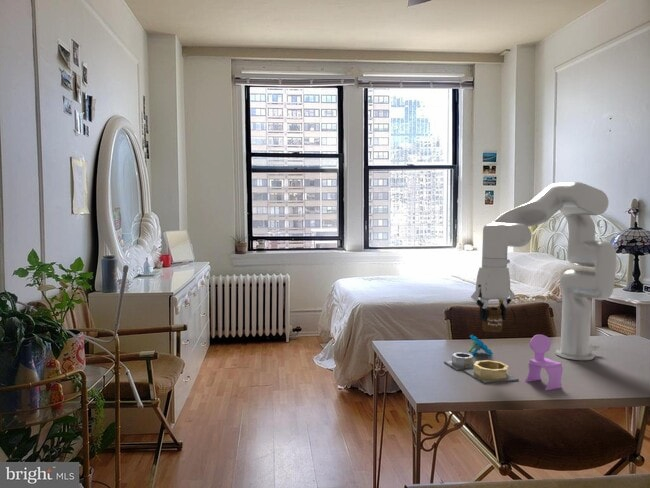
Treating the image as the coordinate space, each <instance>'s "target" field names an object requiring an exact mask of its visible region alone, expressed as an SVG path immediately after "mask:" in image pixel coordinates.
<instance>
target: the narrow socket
mask: <svg viewBox="0 0 650 488" xmlns="http://www.w3.org/2000/svg"><path fill="white" fill-rule="evenodd" d="M474 356H475V355H472V354H471V353H470V352H469V353H468V352H454V353H452V354H451V360H444V364H446V365H447V366H449V367H450V368H452V369H453V370H455V371H457V372H458V371H459V372H460V371H464V370H471V369H474V364H475V362H474V358H475V357H474Z"/></svg>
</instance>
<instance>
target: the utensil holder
mask: <svg viewBox="0 0 650 488" xmlns="http://www.w3.org/2000/svg"><path fill="white" fill-rule="evenodd" d="M502 301H503V300H499V301H498V306H499V307H498V306H497V307H493V306H491V303H488V304H489V307H488V306H486V309H488V317H487V321H483V320H482V330H483V331H485V332H489V333H501V332H502V331H503V320H502V315H501V312H502V311H501V309H500V305H501V303H502Z"/></svg>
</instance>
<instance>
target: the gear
mask: <svg viewBox="0 0 650 488" xmlns="http://www.w3.org/2000/svg"><path fill="white" fill-rule="evenodd" d="M469 338H470V339H471V341H473V342H472V345H471V347H470V348H469V350H468V352H469V353H470V354H471V355H473V356H475V355H476V354H477V352H478V351H480V350H482V351H484V353H486V354H488V356H493V354H494V353H493V352H492V350H491V349H490V348H488V346H487V344H485V343H484V341H482V340H481V339H479V338H478V337H477V336H474V334H470V335H469ZM473 349H474V350H473Z"/></svg>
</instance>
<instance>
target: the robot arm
mask: <svg viewBox="0 0 650 488" xmlns="http://www.w3.org/2000/svg"><path fill="white" fill-rule="evenodd" d="M608 208H609V197H608V196H607V194H606V192H604V191H603V190H601V189H599V188H596V187H594V186H592V185H589V184H586V183H583V182H580V181H579V182H578V181H569V182H568V181H567V182H566V181H565V182H553V183H550V184H549V185H547V186H546V187H545V188H543V189H542V191H540V192H539V193H538V194H537V195H535V196H534V197H533V198H532V199H531V200H530V201H528V202H527V203H524V204H521V205H519V206H516V207H514V208H512V209H509V210H507V211H505V212H504V213H501V214H500V215H499V216H498V217H496V218H495V219H494V220H493V221H491V223H488V224H487V223H486V224H485V225H484V226H483V228H482V251H481V253H482V255H481V256H482V257H481V266H479V267H478V272H477V276H476V283H475V291H474V292H473V293H472V295H471V296H470V299H471V300H473V302H474V303H475V304H476V305H477V307H479V320H481V321H482V322H483V321H487V317H488V309H486V307H488V304H489V302H490V301H492V300H497V301H498V302H499V300H503V301H502V303H501V305H500V309H501V311H502V312H501V315H502V321H505V320H506V314H507V313H506V312H507V308H508V306H509V305H510V303H511V301H512V300H513V299H514V298H515V297H516V295H515V293H514V291H512V290H511V289H512V288H511V277H510V276H511V275H510V271H509V267H508V264H510V263H511V260H510V259H508V250H509V249H508V248H509V247H510V248H511V247H514V248H522V247H525V246H527V245H528V244H529V243H530V241H531V239H532V231H531V229H530V227H535V226H538V225H541V224H545V223H546V222H548V221H549V220H550V219H551V218H553V216H554V215H555V214H556V213H557V212H559V211H560V212H561V213H562V215H563V216H564V217H565V220H566V222H567V224H568V239H567V253H566V257H567V261H568V262H569V263H570V264H571V265H574V266H578V267H585V268H594V270H593V271H592V270H586V269H576V268H573V269H567V270H566V271H564V272H563V273H562V274H561V276H560V281H559V285H560V291H561V301H562V302H561V305H562V306H561V325H560V326H561V327H560V331H561V332H560V348H557V349H556V350H555V354H556V355H557V356H558V357H560V358H563V359H566V360H567V359H568V360H574V361H591V360H594V358H595V354H594V353H593V351H600V349H601V345H599V344H592V343H590V342H591V325H592V324H591V323H592V322H591V321H592V307H591V304H590V302H589V300H588V299H593V300H599V301H605V300H608V299H609V298H610V297H611V296H612V294H613V292H614V287H615V281H616V280H615V278H616V269H617V268H616V267H617V251H616V249H615V247H614V245H613V244H612V243H611V242H608V241H606V240H596V225H595V222H594V220H593V218H592V216H601V215H602V214H604V213H605V212H606V211H607V209H608ZM498 307H499V305H498V306H497V308H498Z"/></svg>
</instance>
